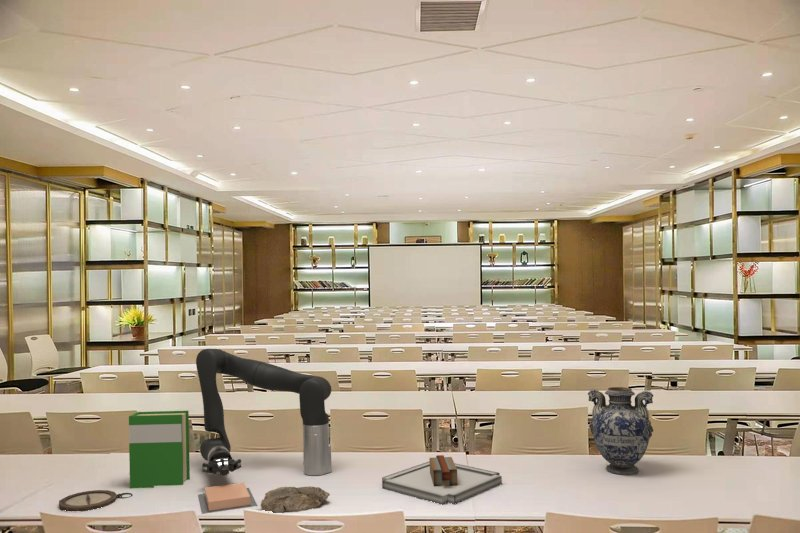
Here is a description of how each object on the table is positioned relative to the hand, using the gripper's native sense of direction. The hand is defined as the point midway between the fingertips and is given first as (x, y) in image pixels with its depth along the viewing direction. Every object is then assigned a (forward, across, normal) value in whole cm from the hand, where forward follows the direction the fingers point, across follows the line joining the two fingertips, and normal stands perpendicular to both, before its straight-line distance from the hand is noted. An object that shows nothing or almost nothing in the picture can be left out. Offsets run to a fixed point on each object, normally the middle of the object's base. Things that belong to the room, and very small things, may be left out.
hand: (224, 472), depth 205 cm
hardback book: (-25, -19, +8) cm, 32 cm away
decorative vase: (+30, +129, +8) cm, 133 cm away
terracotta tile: (-2, 0, +6) cm, 6 cm away
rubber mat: (+4, 0, +8) cm, 9 cm away
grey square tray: (+17, +67, +9) cm, 70 cm away
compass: (-14, -39, +9) cm, 42 cm away
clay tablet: (+16, +20, +9) cm, 26 cm away
